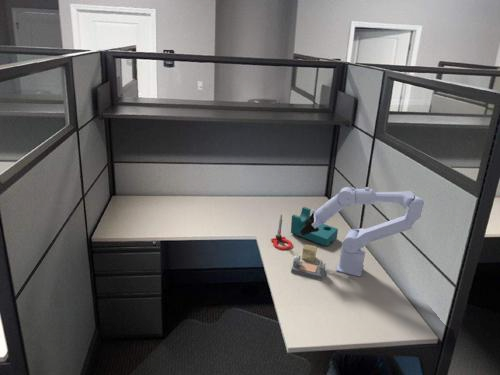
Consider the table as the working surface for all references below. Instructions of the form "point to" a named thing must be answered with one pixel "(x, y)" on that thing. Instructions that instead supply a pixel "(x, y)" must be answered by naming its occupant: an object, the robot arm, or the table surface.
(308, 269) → the stand
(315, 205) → the table surface
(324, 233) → the teal l-shaped bracket
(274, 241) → the tow hook
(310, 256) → the coupling block
